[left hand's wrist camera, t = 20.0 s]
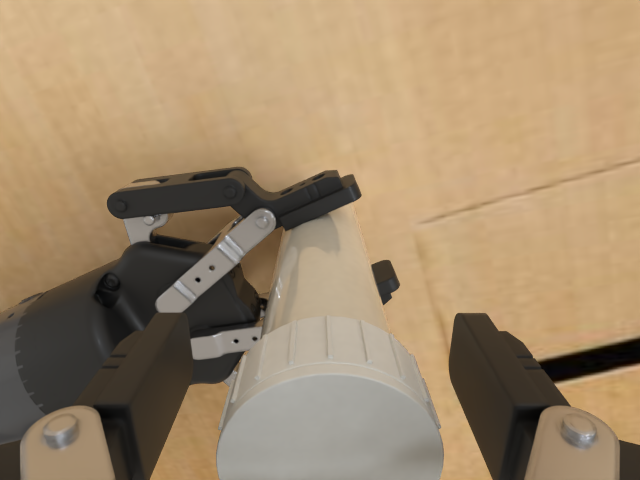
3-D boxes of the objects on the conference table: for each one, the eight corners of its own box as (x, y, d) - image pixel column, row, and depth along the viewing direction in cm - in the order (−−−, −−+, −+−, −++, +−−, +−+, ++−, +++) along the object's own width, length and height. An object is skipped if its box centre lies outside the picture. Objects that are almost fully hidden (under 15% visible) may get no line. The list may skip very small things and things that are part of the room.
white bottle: (293, 248, 27) (259, 513, 11) (281, 185, 26) (220, 382, 9) (358, 238, 27) (424, 493, 11) (350, 174, 26) (411, 356, 9)
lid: (405, 291, 10) (428, 346, 8) (437, 447, 12) (462, 524, 10) (204, 337, 11) (177, 400, 9) (264, 481, 12) (254, 561, 10)
